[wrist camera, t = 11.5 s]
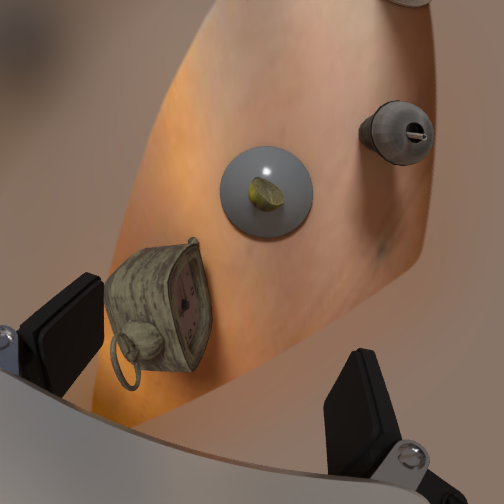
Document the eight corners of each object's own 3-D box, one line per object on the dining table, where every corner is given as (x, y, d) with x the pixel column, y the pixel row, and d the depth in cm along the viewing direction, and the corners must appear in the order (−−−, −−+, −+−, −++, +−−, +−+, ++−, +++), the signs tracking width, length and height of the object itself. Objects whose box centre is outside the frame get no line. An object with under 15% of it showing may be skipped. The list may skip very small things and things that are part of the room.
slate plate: (230, 138, 43) (229, 138, 42) (321, 158, 42) (322, 158, 41) (214, 225, 47) (212, 226, 46) (300, 244, 47) (300, 246, 46)
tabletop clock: (219, 311, 52) (176, 428, 29) (169, 313, 54) (105, 418, 30) (203, 227, 48) (131, 311, 24) (149, 233, 49) (54, 311, 25)
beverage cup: (404, 149, 40) (478, 160, 22) (361, 166, 42) (414, 187, 23) (385, 102, 39) (451, 81, 20) (340, 119, 40) (382, 104, 21)
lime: (250, 175, 43) (245, 179, 39) (285, 177, 43) (285, 182, 38) (249, 206, 45) (244, 214, 40) (283, 208, 44) (283, 217, 40)
